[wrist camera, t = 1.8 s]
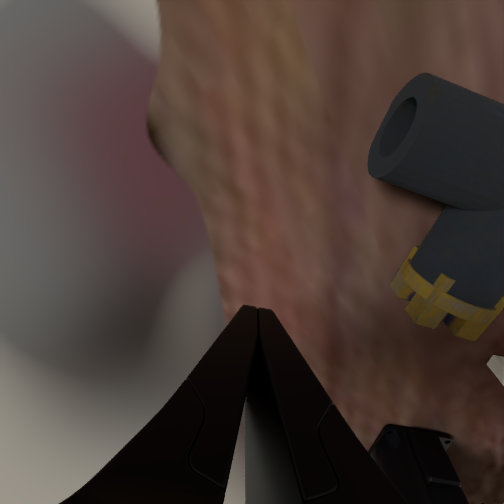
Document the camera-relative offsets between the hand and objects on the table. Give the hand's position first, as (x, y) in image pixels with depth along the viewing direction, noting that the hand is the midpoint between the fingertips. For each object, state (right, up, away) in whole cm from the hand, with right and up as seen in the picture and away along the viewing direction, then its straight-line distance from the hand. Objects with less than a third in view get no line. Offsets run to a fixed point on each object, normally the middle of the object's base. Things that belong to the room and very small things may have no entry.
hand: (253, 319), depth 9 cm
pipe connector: (+13, +4, +11) cm, 18 cm away
